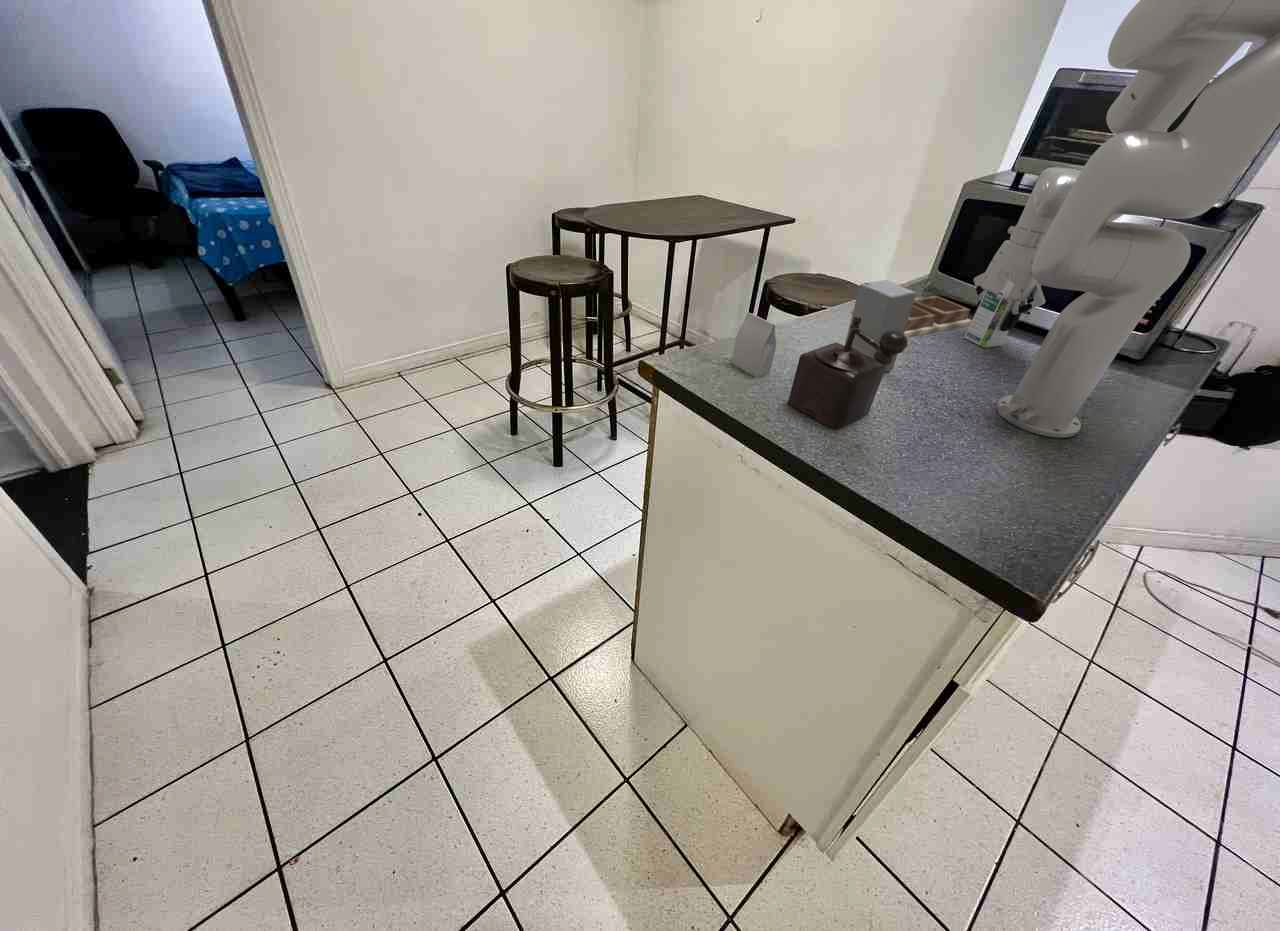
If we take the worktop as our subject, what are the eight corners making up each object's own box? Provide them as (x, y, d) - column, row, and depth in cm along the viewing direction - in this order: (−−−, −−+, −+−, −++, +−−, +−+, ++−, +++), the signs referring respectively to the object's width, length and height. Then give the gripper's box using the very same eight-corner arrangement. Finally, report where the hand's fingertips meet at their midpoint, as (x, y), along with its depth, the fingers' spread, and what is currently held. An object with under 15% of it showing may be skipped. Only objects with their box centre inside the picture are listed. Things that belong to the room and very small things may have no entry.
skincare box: (892, 372, 103) (923, 293, 94) (863, 376, 101) (892, 296, 91) (863, 354, 110) (889, 277, 100) (835, 357, 107) (860, 280, 98)
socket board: (902, 338, 117) (907, 323, 115) (850, 312, 129) (854, 298, 126) (971, 324, 127) (977, 310, 125) (917, 301, 138) (922, 288, 136)
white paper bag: (756, 377, 98) (767, 326, 92) (731, 363, 103) (740, 313, 96) (769, 373, 100) (781, 323, 94) (745, 359, 104) (754, 310, 98)
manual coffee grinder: (782, 404, 91) (808, 303, 80) (820, 387, 97) (850, 291, 86) (860, 448, 81) (901, 340, 71) (897, 426, 87) (941, 323, 76)
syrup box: (962, 337, 120) (992, 273, 111) (982, 335, 121) (1013, 272, 113) (982, 348, 116) (1014, 282, 107) (1002, 346, 117) (1036, 281, 108)
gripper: (982, 228, 110) (946, 312, 120) (1065, 252, 98) (1017, 342, 108) (1004, 226, 112) (967, 308, 123) (1088, 249, 100) (1039, 337, 111)
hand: (991, 323), depth 116 cm, fingers closed on syrup box, 6 cm apart
